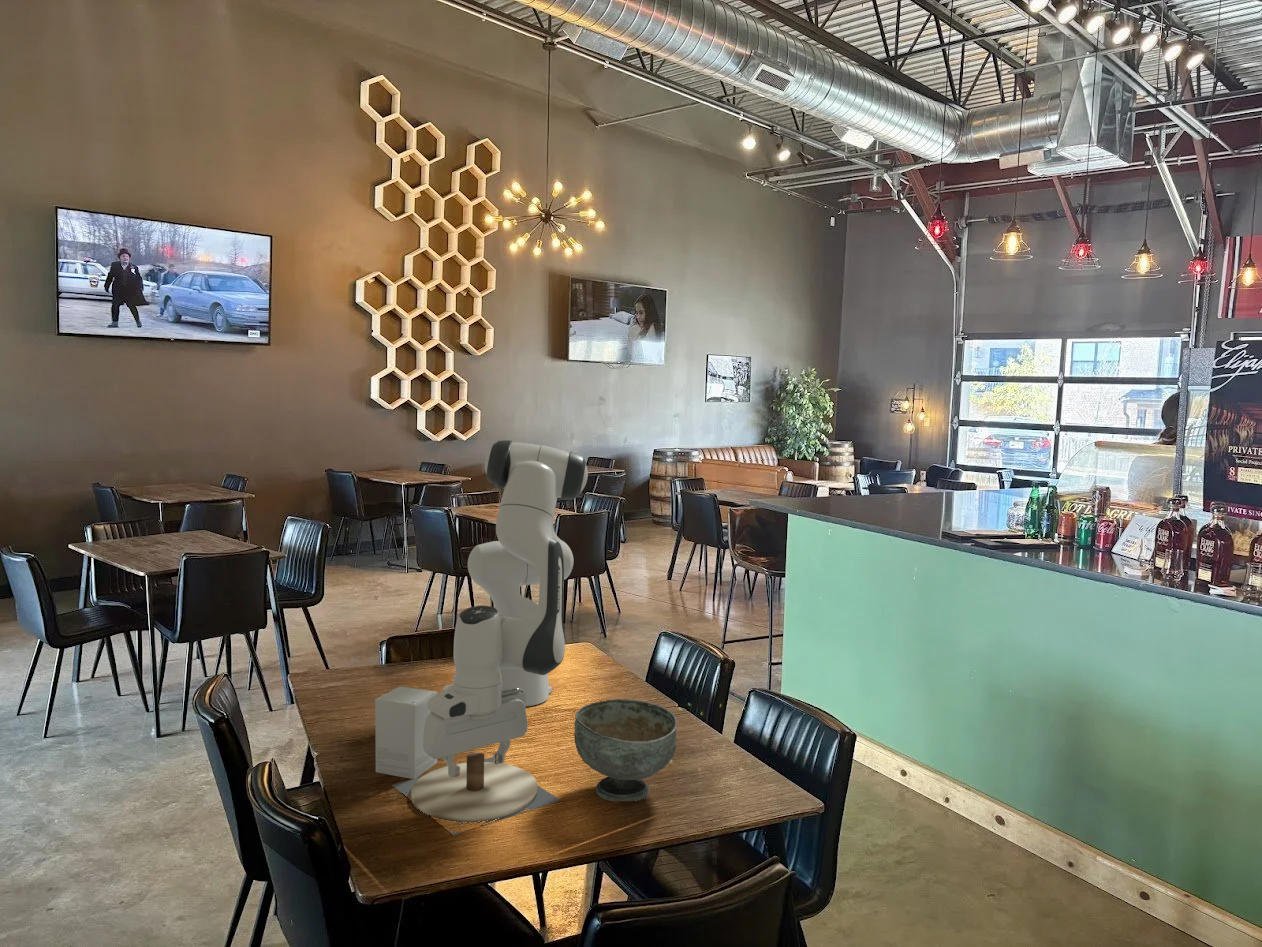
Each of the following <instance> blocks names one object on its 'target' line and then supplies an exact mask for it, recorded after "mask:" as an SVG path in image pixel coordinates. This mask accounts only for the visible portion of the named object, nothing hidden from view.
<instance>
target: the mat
mask: <svg viewBox="0 0 1262 947" xmlns="http://www.w3.org/2000/svg"><path fill="white" fill-rule="evenodd" d="M493 759H494V757H493V756H491V757H488V758H484V762H493ZM421 777H422V776H418V777H417V778H415V779H407V780H404V781H400V782H397V783H394V784H391V786H392V787H393V788H394V789H395V790H397V791H398V792H399V793H400V794H401V793H403V794H405V796H406V795H407V796H409V797H410V796H411V795H410V794H411V790H412V787H413V785H414V784H415V782H416V781H417V780H418V779H420V778H421ZM406 792H407V793H406ZM403 794H402V795H403ZM405 796H404V797H405ZM407 796H406V797H407ZM406 797H405V798H406ZM560 801H561V802H562V800H561V799H560V798H558V796H555V795H554V794H552V793H550V792H549V791H547V790H546V789H544V788H542V787H541V786H540V785H538V784H537V796H536V798H535V799H534V801H533V802H532V803H531V804H530V805H529V806H527V807H526V808H527V809H529V810H531V811H533V810H532V809H534V810H537V809H539V807H540V808H542V807H545V806H550V805H552V804H554V803H557V802H560ZM536 808H537V809H536ZM527 809H525V808H524V809H523V810H521V811H522V812H521V811H519V812H517V813H515V814H512V815H509V816H506V817H502V818H499V819H497V820H495V819H494V820H495V822H494V821H493V820H488V821H486V822H485V823H488V822H490V821H493V822H494V823H496V821H497V822H500V821H503V820H505V818H506V819H509V818H511V817H515V816H518V815H520V813H521V814H524V813H527V812H526V811H524V810H527ZM529 810H527V811H528V812H530V811H529ZM523 812H524V813H523ZM517 814H518V815H517ZM502 819H503V820H502ZM499 820H500V821H499ZM480 822H482V821H480ZM480 822H478V823H480ZM458 823H459V822H458ZM467 823H469V822H467ZM467 823H466V824H467ZM478 823H477V824H478ZM485 823H483V824H485ZM461 824H463V823H461ZM461 824H459V825H461ZM473 824H474V823H473ZM483 824H482V825H483ZM491 824H493V823H492V822H491ZM491 824H490V823H488V825H491ZM459 825H458V826H459ZM470 825H472V824H470ZM453 827H454V826H453ZM462 827H464V826H462ZM460 830H461V829H460ZM450 831H452V830H451V829H450ZM450 831H449V832H448V833H449V834H450V833H451V832H450ZM454 831H455V830H454ZM464 831H466V830H464ZM466 832H467V831H466ZM459 833H460V834H462V833H461V832H460V831H459V832H456V833H454V832H453V834H452V833H451V834H452V837H453V836H457V835H460V834H459ZM451 834H450V835H451Z"/></svg>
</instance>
